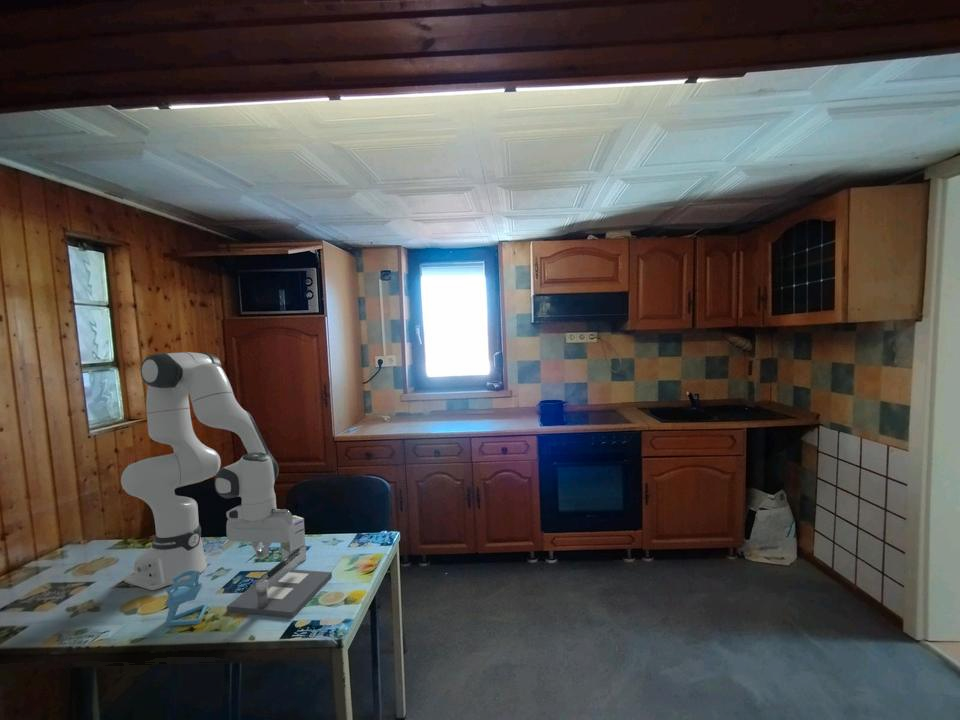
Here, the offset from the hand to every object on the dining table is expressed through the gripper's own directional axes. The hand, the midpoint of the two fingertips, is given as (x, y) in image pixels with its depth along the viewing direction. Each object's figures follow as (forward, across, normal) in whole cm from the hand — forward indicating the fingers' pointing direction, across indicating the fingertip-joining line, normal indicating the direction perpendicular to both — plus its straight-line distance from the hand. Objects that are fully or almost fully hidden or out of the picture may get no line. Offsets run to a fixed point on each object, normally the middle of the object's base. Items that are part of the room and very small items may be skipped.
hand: (262, 555), depth 119 cm
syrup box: (+11, +2, -16) cm, 19 cm away
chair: (+11, +13, +14) cm, 22 cm away
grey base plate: (+11, -6, 0) cm, 12 cm away
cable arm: (+5, -6, 0) cm, 8 cm away
